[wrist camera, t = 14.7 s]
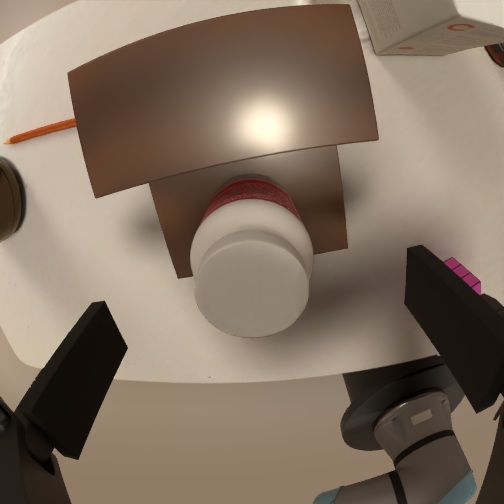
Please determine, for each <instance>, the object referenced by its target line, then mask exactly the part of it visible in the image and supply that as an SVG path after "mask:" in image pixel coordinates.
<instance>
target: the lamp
mask: <svg viewBox="0 0 504 504" xmlns="http://www.w3.org/2000/svg"><path fill="white" fill-rule="evenodd" d="M21 206H22V203H21V193H20V188H19V185H18V182H17V179H16V177H15V175H14V173H13V172H12V170H11V169H10V168H9V167H8V166H7V165H6V164H5V163H3V162H2V161H0V243H1V242H2V241H4V240H5V239H7V238H8V237H10V236H11V235H12V234H13V232H14V231H15V229H16V228H17V225H18V223H19V220H20V216H21Z"/></svg>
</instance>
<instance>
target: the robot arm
mask: <svg viewBox="0 0 504 504" xmlns="http://www.w3.org/2000/svg"><path fill="white" fill-rule="evenodd" d="M404 304H405V305H406V307H407V308H408V310H409V311H410V312H411V314H412V315H413V316H414V318H415V319H416V321H417V322H418V323H419V325H420V326H421V328H422V329H423V330H424V332H425V333H426V335H427V336H428V338H429V339H430V341H431V342H432V344H433V345H434V346H435V348H436V349H437V351H438V352H439V354H440V355H441V357H442V358H443V360H444V362H445V363H446V365H447V366H448V368H449V369H450V371H451V372H452V374H453V376H454V377H455V379H456V380H457V382H458V384H459V385H460V387H461V388H462V390H463V392H464V393H465V395H466V397H467V398H468V400H469V402H470V403H471V405H472V407H473V409H474V410H475V412H476V414H477V413H479V412H481V411H483V410H485V409H487V408H488V407H490V406H492V405H494V403H495V401H496V400H497V398H498V396H499V394H500V393H501V394H502V396H503V397H504V307H503V306H502V305H501V304H500V303H499V302H498V301H497V300H496V299H494V298H492V297H490V296H488V295H486V294H481V295H479V294H478V293H477V292H476V291H475V290H474V289H473V288H472V287H471V286H469V285H468V284H467V283H466V282H465V281H464V280H463V279H462V278H461V277H460V276H458V275H457V274H456V273H455V272H454V271H453V270H452V269H450V268H449V267H448V266H447V265H446V264H445V263H444V262H442V261H441V260H440V259H439V258H438V257H436V256H435V255H434V254H433V253H432V252H430V251H429V250H428V249H427V248H426V247H424V246H423V245H418V246H414V247H409V248H407V265H406V286H405V300H404ZM127 349H128V347H127V345H126V343H125V341H124V339H123V337H122V335H121V333H120V331H119V329H118V327H117V325H116V323H115V321H114V319H113V317H112V315H111V313H110V311H109V309H108V307H107V304H106V302H105V301H100V302H93V303H91V305H90V306H89V307H88V308H87V310H86V311H85V312H84V313H83V315H82V316H81V317H80V319H79V320H78V321H77V323H76V324H75V325H74V327H73V328H72V329H71V331H70V332H69V333H68V335H67V336H66V337H65V339H64V340H63V341H62V343H61V344H60V346H59V347H58V348H57V350H56V351H55V353H54V354H53V355H52V357H51V358H50V360H49V361H48V363H47V364H46V365H45V367H44V368H43V369H42V370H41V371H40V373H39V374H38V376H37V377H36V378H35V381H33V383H32V385H31V388H29V389H28V391H27V392H26V394H25V395H24V397H23V399H22V400H21V402H20V403H19V405H18V406H17V408H16V410H15V412H13V411H12V410H11V409H10V408H9V407H8V405H7V404H6V403H5V402H4V400H3V399H2V398H1V397H0V504H71V501H70V498H69V495H68V493H67V490H66V487H65V484H64V481H63V478H62V474H61V471H60V467H59V464H58V461H57V458H56V456H55V455H54V454H53V453H52V451H53V449H54V448H56V449H57V450H58V451H59V452H60V453H61V454H62V455H63V456H65V457H69V458H73V459H76V460H78V459H79V457H80V454H81V452H82V449H83V447H84V444H85V442H86V440H87V437H88V435H89V432H90V430H91V428H92V425H93V423H94V421H95V418H96V416H97V414H98V411H99V409H100V407H101V405H102V402H103V400H104V398H105V395H106V393H107V391H108V389H109V387H110V385H111V382H112V380H113V378H114V376H115V374H116V372H117V370H118V368H119V366H120V364H121V361H122V359H123V357H124V355H125V353H126V351H127ZM499 415H500V418H499V423H498V428H497V433H496V438H495V442H494V446H493V451H492V454H491V458H490V462H489V465H488V468H487V472H486V475H485V478H484V481H483V484H482V487H481V490H480V493H479V496H478V498H477V501H476V504H504V401H503V403H502V404H501V406H500V408H499V410H498V411H497V413H496V415H495V417H494V419H493V420H496V419H497V418H498V416H499ZM372 430H373V434H374V437H375V439H376V441H377V442H378V443H379V444H380V445H381V447H382V448H383V449H384V450H385V451H386V452H387V454H388V455H389V456H390V457H391V459H392V460H393V463H394V466H395V470H394V471H391V472H388V473H385V474H383V475H380V476H377V477H374V478H371V479H368V480H365V481H361V482H358V483H355V484H351V485H348V486H340V487H339V488H337V489H333V490H330V491H327V492H323V493H321V494H319V495H318V496H317V497H316V498H315V500H314V502H313V504H465V503H466V502H467V501H469V500H470V499H471V498H472V497H473V496H474V494H475V492H476V488H477V487H476V483H475V480H474V477H473V474H472V473H473V470H471V468H470V466H469V464H468V461H467V459H466V457H465V455H464V452H463V451H462V449H461V446H460V444H459V442H458V440H457V438H456V436H455V433H454V432H453V429H452V422H451V412H450V404H449V399H448V397H447V395H446V393H445V391H444V390H443V389H441V388H437V387H431V388H425V389H421V390H418V391H415V392H413V393H411V394H408V395H406V396H404V397H403V398H401V399H399V400H397V401H396V402H394V403H393V404H391V405H390V406H389V407H387V408H386V409H385V410H384V411H383V412H382V413H381V414H380V415H379V416H378V417H377V418H376V420H375V421H374V423H373V426H372Z"/></svg>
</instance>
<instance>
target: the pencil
mask: <svg viewBox="0 0 504 504" xmlns="http://www.w3.org/2000/svg"><path fill="white" fill-rule="evenodd" d="M75 126H77V125H76V120H75V118H74V119H70V120H66V121H62V122H58V123H55V124H51V125H48V126H44V127H41V128H38V129H35V130H31V131H28V132H25V133H22V134H19V135H16V136H14V137H11V138H10V139H9V140H7V141H6V142H4V143H3V144H15V143H18V142H21V141H24V140H27V139H30V138H34V137H37V136H40V135H44V134H47V133H51V132H55V131H59V130H63V129H67V128H71V127H75Z"/></svg>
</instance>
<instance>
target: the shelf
mask: <svg viewBox="0 0 504 504" xmlns="http://www.w3.org/2000/svg"><path fill="white" fill-rule="evenodd" d="M68 81H69V87H70V93H71V99H72V105H73V110H74V115H75V120H76V125H77V130H78V134H79V139H80V143H81V147H82V152H83V156H84V160H85V164H86V167H87V171H88V175H89V178H90V182H91V185H92V189H93V192H94V196H95V198H100V197H103V196H106V195H109V194H112V193H115V192H119V191H122V190H125V189H129V188H132V187H136V186H139V185H143V184H146V183H149V186H150V190H151V193H152V197H153V200H154V204H155V207H156V211H157V214H158V217H159V221H160V224H161V227H162V231H163V234H164V237H165V240H166V244H167V247H168V250H169V253H170V256H171V259H172V262H173V265H174V268H175V271H176V274H177V277H178V279H180V278H186V277H192V276H193V273H192V269H191V262H190V253H191V246H192V242H193V239H194V236H195V234H196V231H197V229H198V227H199V225H200V223H201V221H202V219H203V217H204V215H205V213H206V211H207V209H208V207H209V205H210V203H211V201H212V199H213V197H214V195H215V194H216V192H217V191H218V190H219V189H220V188H221V187H222V186H223V185H224V184H225V183H227V182H228V181H230V180H232V179H234V178H236V177H239V176H243V175H260V176H264V177H267V178H269V179H272V180H273V181H275V182H276V183H278V184H279V185H280V186H281V187H282V188H283V189H284V190H285V191H286V192H287V194H288V195H289V197H290V199H291V201H292V203H293V205H294V206H295V209H296V210H297V213H298V215H299V217H300V219H301V221H302V223H303V225H304V227H305V228H306V230H307V232H308V234H309V236H310V240H311V243H312V248H313V255H315V254H320V253H325V252H331V251H336V250H341V249H347V248H348V242H347V229H346V218H345V208H344V198H343V190H342V181H341V173H340V166H339V159H338V152H337V145H341V144H349V143H358V142H367V141H377V140H379V137H378V130H377V123H376V116H375V110H374V104H373V98H372V93H371V88H370V82H369V78H368V73H367V68H366V64H365V59H364V55H363V51H362V47H361V43H360V39H359V35H358V31H357V28H356V24H355V21H354V17H353V14H352V11H351V7H350V5H349V4H321V5H300V6H288V7H277V8H269V9H261V10H254V11H248V12H242V13H236V14H231V15H226V16H221V17H216V18H212V19H208V20H203V21H199V22H195V23H192V24H188V25H184V26H181V27H177V28H174V29H171V30H167V31H164V32H161V33H158V34H155V35H152V36H149V37H147V38H144V39H141V40H138V41H136V42H133V43H131V44H128V45H125V46H123V47H121V48H118V49H116V50H113V51H111V52H109V53H107V54H104V55H102V56H100V57H98V58H96V59H94V60H91V61H89V62H87V63H85V64H83V65H81V66H79V67H77V68H75V69H74V70H72V71H70V72H68Z"/></svg>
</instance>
